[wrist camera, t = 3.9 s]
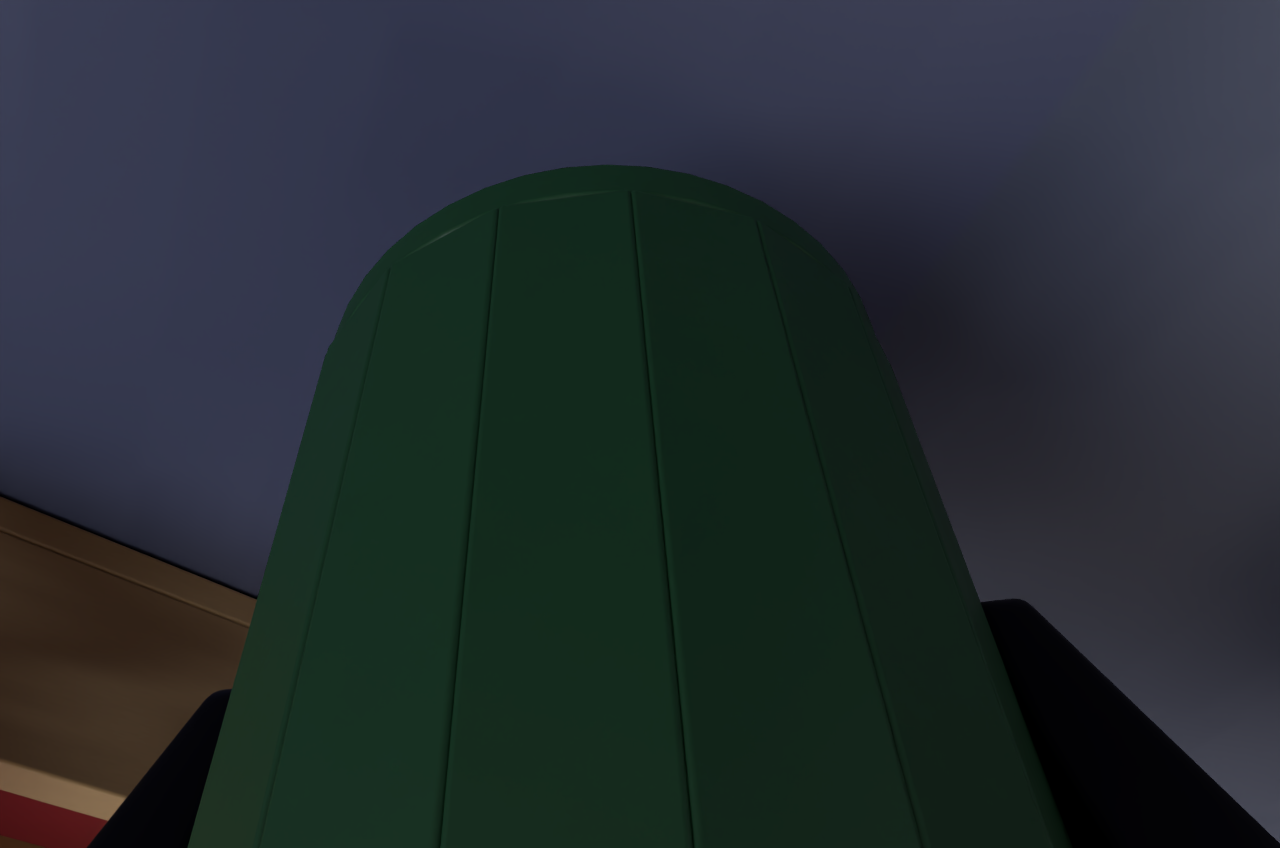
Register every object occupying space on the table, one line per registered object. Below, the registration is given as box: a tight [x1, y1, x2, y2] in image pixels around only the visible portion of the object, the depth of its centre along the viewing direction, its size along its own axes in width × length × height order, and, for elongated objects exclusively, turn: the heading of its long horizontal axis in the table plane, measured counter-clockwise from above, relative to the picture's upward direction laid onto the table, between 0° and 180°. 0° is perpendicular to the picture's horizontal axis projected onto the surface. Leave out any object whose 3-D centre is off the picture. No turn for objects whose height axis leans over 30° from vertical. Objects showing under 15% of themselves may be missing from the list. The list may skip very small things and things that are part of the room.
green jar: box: [188, 165, 1073, 848], centre depth 8 cm, size 6×6×10 cm
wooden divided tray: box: [0, 496, 257, 848], centre depth 19 cm, size 17×9×4 cm, turn 52°
